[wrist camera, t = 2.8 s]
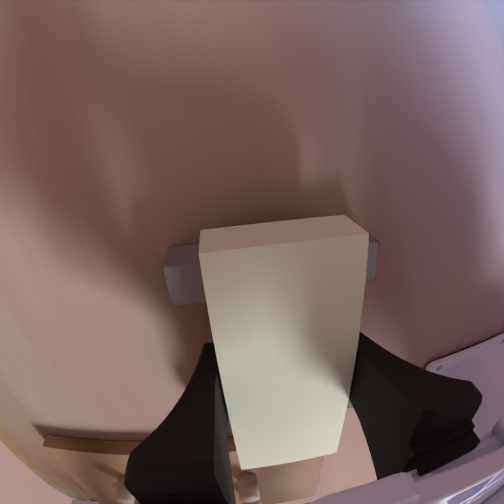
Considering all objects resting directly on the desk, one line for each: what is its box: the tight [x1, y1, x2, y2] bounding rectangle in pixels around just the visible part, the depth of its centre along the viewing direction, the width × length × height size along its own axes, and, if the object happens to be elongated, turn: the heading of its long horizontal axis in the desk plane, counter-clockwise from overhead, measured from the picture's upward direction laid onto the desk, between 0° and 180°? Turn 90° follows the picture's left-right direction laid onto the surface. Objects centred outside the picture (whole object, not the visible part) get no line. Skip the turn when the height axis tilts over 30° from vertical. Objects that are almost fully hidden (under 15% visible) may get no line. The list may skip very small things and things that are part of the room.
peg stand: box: [43, 435, 323, 504], centre depth 18 cm, size 20×11×3 cm, turn 94°
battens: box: [163, 234, 379, 430], centre depth 14 cm, size 8×10×2 cm
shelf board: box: [199, 215, 369, 470], centre depth 12 cm, size 12×5×2 cm, turn 4°
